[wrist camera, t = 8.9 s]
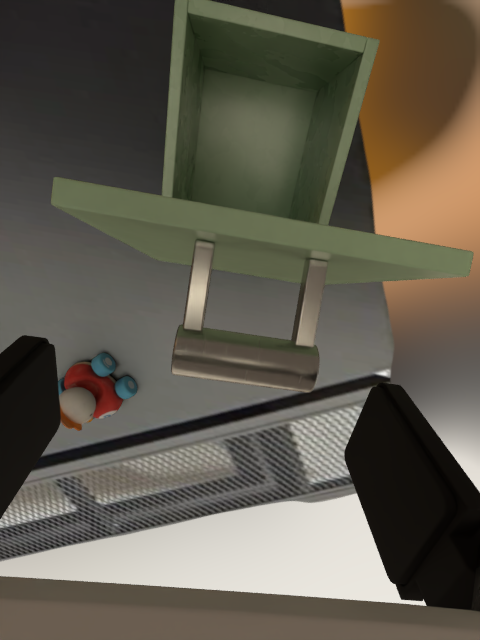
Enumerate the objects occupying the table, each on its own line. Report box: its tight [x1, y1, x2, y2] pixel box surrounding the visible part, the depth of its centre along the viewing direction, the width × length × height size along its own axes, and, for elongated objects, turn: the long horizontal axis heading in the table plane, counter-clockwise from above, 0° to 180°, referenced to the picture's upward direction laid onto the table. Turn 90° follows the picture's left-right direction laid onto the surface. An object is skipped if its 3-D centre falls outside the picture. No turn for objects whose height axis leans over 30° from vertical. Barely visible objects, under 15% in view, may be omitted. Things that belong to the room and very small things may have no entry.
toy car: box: [58, 353, 137, 431], centre depth 43 cm, size 9×9×10 cm
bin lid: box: [51, 177, 473, 393], centre depth 18 cm, size 16×13×6 cm
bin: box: [162, 0, 379, 225], centre depth 29 cm, size 16×13×14 cm
